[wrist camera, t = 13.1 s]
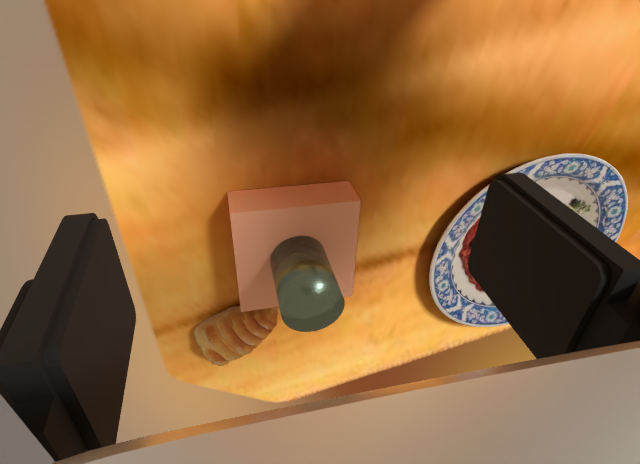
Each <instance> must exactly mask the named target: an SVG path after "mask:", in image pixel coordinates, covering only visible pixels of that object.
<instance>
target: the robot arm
mask: <svg viewBox="0 0 640 464" xmlns="http://www.w3.org/2000/svg"><path fill="white" fill-rule="evenodd" d="M468 270H469V272H470V274H471V276H472V277H473V278H474V279H475V281H476V282H477V283H478V285H479V286H480V287H481V288H482V290H483V291H484V292H485V293H486V295H487V296H488V297H489V298H490V300H491V301H492V302H493V304H494V305H495V306H496V307H497V309H498V310H499V311H500V312H501V314H502V315H503V316H504V318H505V319H506V320H507V321H508V323H509V324H510V325H511V326H512V328H513V329H514V330H515V331H516V333H517V334H518V335H519V337H520V338H521V339H522V340H523V341H524V343H525V344H526V345H527V347H528V348H529V349H530V351H531V352H532V353H533V354H534V356H535V357H536V358H537V359H535V360H530V361H525V362H519V363H513V364H508V365H503V366H497V367H492V368H487V369H482V370H477V371H471V372H466V373H461V374H455V375H450V376H445V377H440V378H434V379H429V380H424V381H419V382H414V383H409V384H403V385H398V386H393V387H388V388H383V389H378V390H372V391H367V392H362V393H357V394H351V395H347V396H341V397H336V398H331V399H326V400H321V401H316V402H311V403H306V404H301V405H296V406H291V407H286V408H281V409H275V410H270V411H265V412H260V413H255V414H250V415H245V416H240V417H235V418H230V419H225V420H221V421H216V422H212V423H207V424H202V425H197V426H192V427H188V428H183V429H179V430H174V431H169V432H165V433H160V434H155V435H150V436H146V437H141V438H137V439H133V440H129V441H126V442H121V443H118V444H116V438H117V432H118V425H119V420H120V413H121V407H122V402H123V395H124V389H125V383H126V377H127V371H128V365H129V359H130V353H131V347H132V341H133V335H134V328H135V322H136V314H135V308H134V304H133V301H132V298H131V295H130V291H129V288H128V285H127V282H126V279H125V275H124V272H123V269H122V266H121V263H120V259H119V256H118V253H117V250H116V246H115V243H114V240H113V237H112V234H111V230H110V228H109V224H108V222H107V220H106V219H98V217H97V216H96V214H94V213H89V214H78V215H67V216H65V217H64V218H63V219H62V221H61V223H60V225H59V227H58V230H57V232H56V234H55V236H54V238H53V240H52V242H51V244H50V246H49V248H48V251H47V253H46V255H45V257H44V259H43V261H42V263H41V265H40V267H39V269H38V271H37V273H36V276H35V278H34V279H33V280H29V281H27V282H25V284H24V285H23V286H22V288H21V290H20V292H19V294H18V296H17V298H16V300H15V302H14V304H13V306H12V308H11V310H10V312H9V314H8V316H7V318H6V320H5V322H4V324H3V326H2V328H1V330H0V464H640V260H639V259H637V258H636V257H635V256H633V255H632V254H631V253H629V252H628V251H627V250H625V249H624V248H623V247H621V246H620V245H619V244H617V243H616V242H615V241H613V240H612V239H611V238H609V237H608V236H607V235H605V234H604V233H603V232H601V231H600V230H599V229H597V228H596V227H595V226H593V225H592V224H591V223H589V222H588V221H587V220H585V219H584V218H583V217H581V216H580V215H579V214H577V213H576V212H575V211H573V210H572V209H571V208H569V207H568V206H567V205H565V204H564V203H563V202H561V201H560V200H559V199H557V198H556V197H555V196H553V195H552V194H551V193H549V192H548V191H547V190H545V189H544V188H543V187H541V186H540V185H539V184H537V183H536V182H535V181H533V180H532V179H531V178H529V177H528V176H527V175H525V174H523V173H509V174H500V175H498V176H497V177H496V178H495V180H494V181H492V182H491V183H490V184H489V187H488V190H487V194H486V198H485V201H484V205H483V209H482V212H481V216H480V219H479V223H478V227H477V230H476V234H475V238H474V241H473V245H472V248H471V252H470V256H469V259H468Z"/></svg>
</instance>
